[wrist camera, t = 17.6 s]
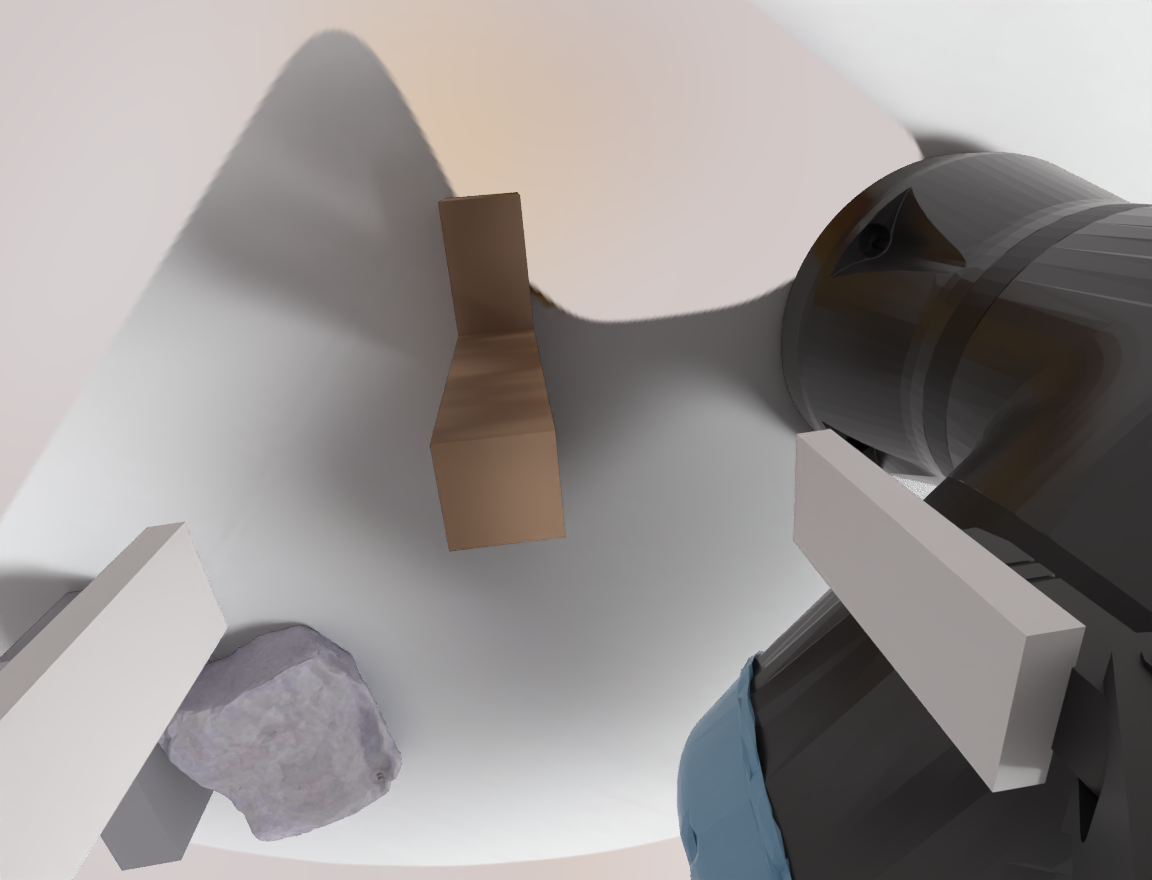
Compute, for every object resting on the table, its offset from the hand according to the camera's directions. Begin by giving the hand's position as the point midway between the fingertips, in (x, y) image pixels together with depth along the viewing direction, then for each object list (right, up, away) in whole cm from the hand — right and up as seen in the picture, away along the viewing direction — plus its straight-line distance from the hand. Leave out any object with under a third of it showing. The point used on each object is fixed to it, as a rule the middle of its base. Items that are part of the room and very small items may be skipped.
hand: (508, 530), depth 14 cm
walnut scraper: (-2, +6, +16) cm, 17 cm away
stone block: (-14, -14, +23) cm, 30 cm away
